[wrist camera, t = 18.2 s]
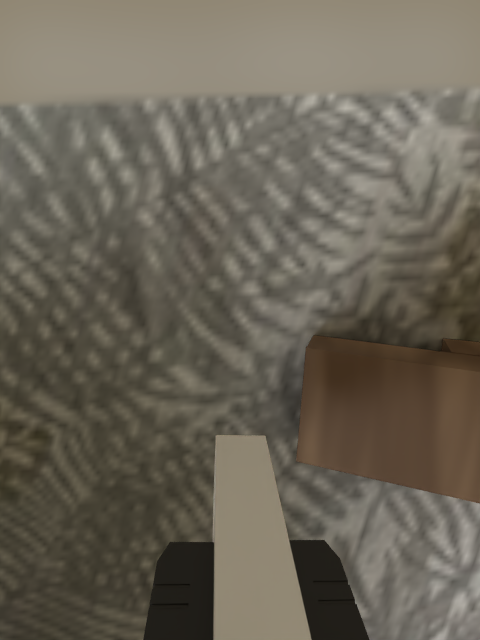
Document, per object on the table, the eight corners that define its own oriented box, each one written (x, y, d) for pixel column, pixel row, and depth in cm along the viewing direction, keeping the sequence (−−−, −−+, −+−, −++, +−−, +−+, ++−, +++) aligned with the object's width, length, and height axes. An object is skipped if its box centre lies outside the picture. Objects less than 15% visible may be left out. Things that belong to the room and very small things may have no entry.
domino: (296, 461, 17) (584, 527, 14) (305, 347, 16) (623, 392, 12) (304, 436, 19) (558, 489, 16) (314, 334, 17) (591, 370, 14)
